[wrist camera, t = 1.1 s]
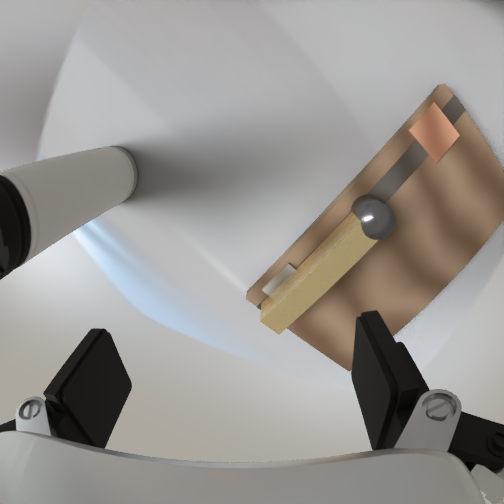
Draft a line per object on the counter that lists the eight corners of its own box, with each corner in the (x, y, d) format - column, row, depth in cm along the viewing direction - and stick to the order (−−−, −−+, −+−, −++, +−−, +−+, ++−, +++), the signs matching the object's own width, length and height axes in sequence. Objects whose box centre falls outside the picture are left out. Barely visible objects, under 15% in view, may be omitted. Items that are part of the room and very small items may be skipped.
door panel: (438, 85, 24) (446, 83, 22) (511, 196, 27) (519, 200, 25) (246, 291, 34) (245, 300, 32) (347, 363, 37) (349, 373, 36)
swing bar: (366, 187, 27) (379, 195, 23) (388, 210, 27) (402, 221, 24) (258, 299, 32) (257, 318, 29) (281, 316, 32) (282, 336, 29)
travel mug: (99, 135, 28) (-57, 166, 9) (148, 162, 29) (0, 220, 10) (80, 185, 30) (-60, 254, 12) (125, 213, 31) (-5, 311, 13)
